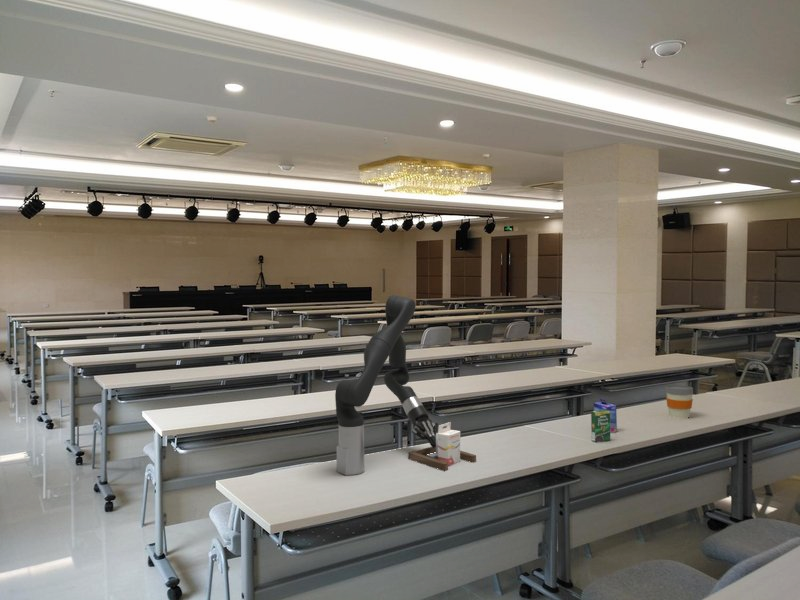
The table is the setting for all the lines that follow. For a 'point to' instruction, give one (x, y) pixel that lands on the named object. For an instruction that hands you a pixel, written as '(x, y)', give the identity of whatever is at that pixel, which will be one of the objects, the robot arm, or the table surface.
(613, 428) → the ink cartridge box
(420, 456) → the brown wooden frame
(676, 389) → the reusable coffee cup
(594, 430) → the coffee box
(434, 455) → the grey block with knob
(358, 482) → the table surface
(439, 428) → the ink cartridge box
